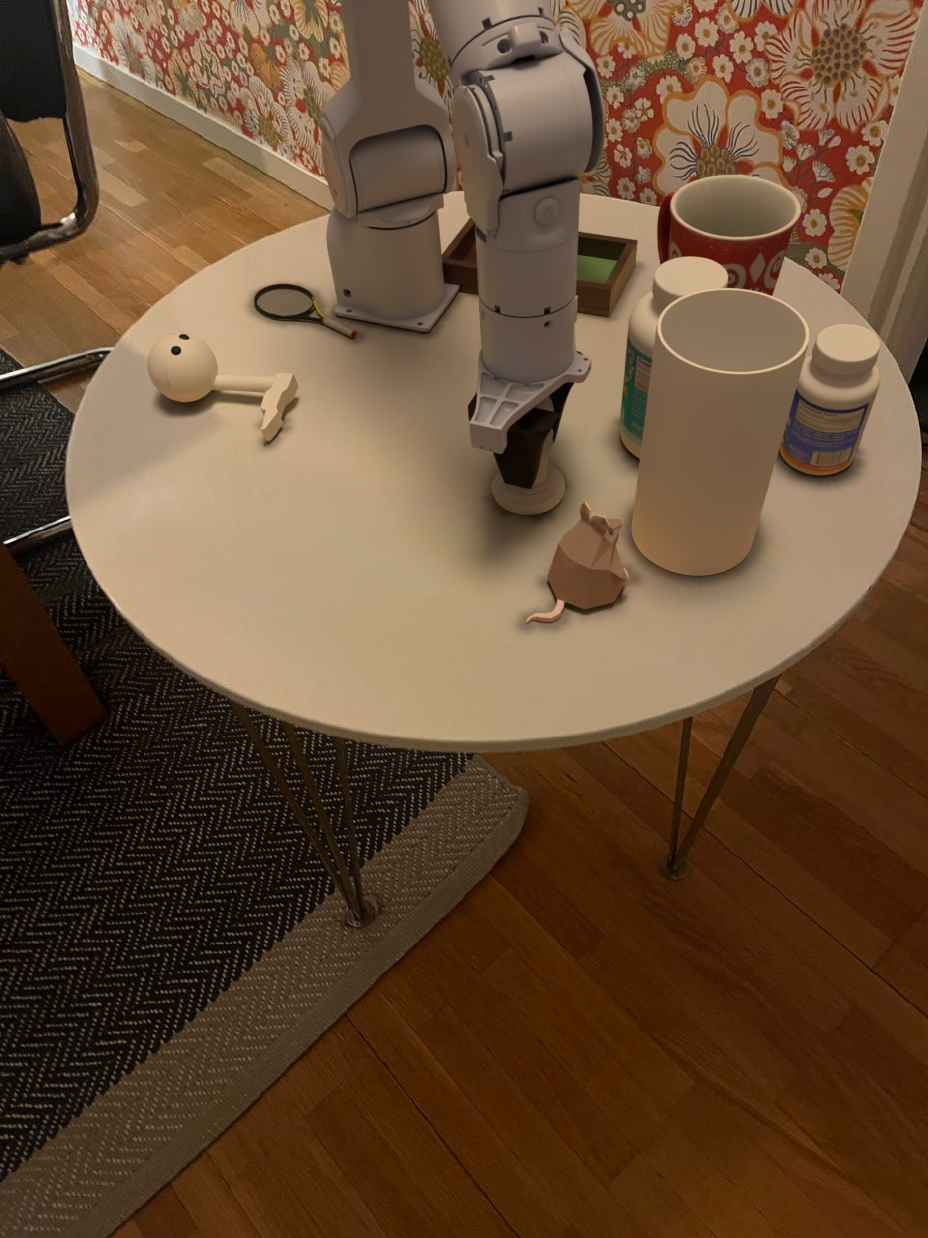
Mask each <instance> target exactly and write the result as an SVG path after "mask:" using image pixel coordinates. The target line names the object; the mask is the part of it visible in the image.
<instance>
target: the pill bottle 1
mask: <svg viewBox="0 0 928 1238" xmlns="http://www.w3.org/2000/svg"><path fill="white" fill-rule="evenodd" d="M727 285H728V274H727V271H726V270H725V269H724V267H723V266H721V265H720V264H718V263H717V262H715V261H712V260H710V259H706V258H702V257H679V258H675V259H671V260H669V261H666V262H664V263H663V264H661V265H660V264H659V266H658V267H657V268H656V270H655V272H654V274H653V279H652V289H651V291H650V292H648V293H646V294H645V295H644V296H643V297H641V298H640V299H639V300H638V301H637V303H636V304H635V305H634V307H633V308H632V310H631V312H630V315H629V318H628V325H627V335H626V336H627V337H626V347H625V358H624V370H623V371H624V373H623V382H622V395H621V406H620V415H619V435H620V439H621V441H622V444H623V446H625V448H626V449H627V450H628V451H629V452H630V453H631V454H632V455H634V456H635V457H636V458H638V459H640V455H641V446H642V438H643V430H644V422H645V414H646V406H647V398H648V390H649V382H650V374H651V366H652V358H653V350H654V342H655V334H656V327H657V323H658V320H659V317H660V315H661V313H662V312H663V311H664V309H665V308H666V307H667V306H668V305H670V304H671V303H672V302H674V301H675V300H677V299H679V298H681V297H683V296H685V295H688V294H690V293H694V292H697V291H702V290H708V289H716V288H727Z"/></svg>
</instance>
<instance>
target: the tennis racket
mask: <svg viewBox="0 0 928 1238" xmlns="http://www.w3.org/2000/svg"><path fill="white" fill-rule="evenodd" d="M278 289H280V291H282V292H284V293H286V294H284V293H282V292H279V293H277V292H275V291H278ZM274 290H275V291H274ZM295 291H299V292H297V293H296V292H295ZM287 292H289V293H288V294H287ZM269 294H271V296H269ZM274 295H276V296H281V297H279V298H278V297H276V296H274ZM300 296H301V297H300ZM307 297H309V298H307ZM267 298H268V299H267ZM298 298H299V299H298ZM263 299H264V300H263ZM269 299H275V300H277V301H273V302H272V301H270V300H269ZM278 300H279V301H278ZM299 300H301V301H303V303H302V302H300V304H299ZM282 301H283V304H282ZM262 303H264V304H266V308H264V307H263V306H262ZM292 303H293V304H295V305H296V307H292V306H290V305H289V304H292ZM307 303H308V304H307ZM253 304H254V306H255V308H256V310H258V312H259V313H261V314H263V315H264V316H266V317H269V318H272V319H276V320H295V321H309V322H310V321H311V322H315V323H320V324H323V325H325V326H327V327H329V328H331V329H333V330H335V331H338V332H340V333H342V334H343V335H346V336H347V337H349V338H352V339H355V338H357V335H358V332H357V330H354V329H352V328H350V327H347V326H345V325H343V324H341V323H340V322H337V321H335V320H333V319H331V318H329V317H326V316H325V315H324V314H323V312H321V310H320V309H319V307H318V304H317V301H316V298H315V296H314V294H313V293H312V291H310V290H308V289H306V288H305V287H303V286H301V285H296V284H293V283H275V284H270V285H268V286H264V287H263V288H261V289H260V290H258V291H257V292H256V293H255V295H254V297H253ZM269 304H271V305H272V304H273V306H269ZM310 304H311V305H310ZM260 305H261V306H260ZM308 305H309V307H308V308H307V309H305V310H303V309H302V310H301V308H300V309H299V307H303V308H306V307H307V306H308ZM274 308H276V309H274ZM279 309H283V311H280V312H279ZM289 309H290V310H289ZM314 309H315V311H316V312H317V314H318V315H319V316H320V317H314V316H309V314H311V313H312V311H314ZM286 310H288V312H286ZM293 311H295V313H294V314H291V312H293ZM298 311H300V312H299V313H297V312H298ZM301 311H302V312H301Z"/></svg>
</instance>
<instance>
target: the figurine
mask: <svg viewBox="0 0 928 1238" xmlns="http://www.w3.org/2000/svg"><path fill="white" fill-rule="evenodd" d="M146 365H147V372H148V376H149V379H150V380H151V383H152V385H153V386H154V387H155V388H156V390H157V391H158V392H160V394H162V395H163V396H164V397H166V398H168V399H170V400H172V401H175V402H180V403H192V402H196V401H199V400H201V399H203V398H204V397H206V396H207V395H208V394H209V393H210V392H211V391H212V390H213V391H229V392H230V391H231V392H246V393H247V392H248V393H260V394H263V393H264V394H263V397H262V400H261V402H260V407H259V409H260V411H261V413H262V416H263V418H262V419H263V420H262V423H261V428H260V432H261V434H262V436H263V438H264V440H265V442H271V441H272V440H273V438H275V436H276V434H277V433H278V432H279V430H280V429H281V428H282V426H283V425H284V421H283V420H282V417H283V413H284V411H285V408H286V406H288V405H289V404H291V402H293V401H294V398H295V396H296V393H297V390H298V389H299V384H298V381H297V378H296V376H295V373H293V372H292V373H291V372H290V373H289V372H277V373H276V376H261V375H260V376H258V375H238V374H237V375H235V374H218V372H219V371H218V369H219V367H218V361H217V359H216V355H215V354H214V352H213V350H212V348H211V347H210V346H209V345H208V343H206V341H204V340H203V339H200V338H198V337H195V336H194V335H191V334H188V333H185V332H176V333H170V334H166V335H164V336H162V337H161V338H159V339H158V340H156V342H155V343H154V344H153V346H152V347H151V349H150V351H149V353H148V357H147V363H146Z"/></svg>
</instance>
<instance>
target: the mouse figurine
mask: <svg viewBox="0 0 928 1238" xmlns="http://www.w3.org/2000/svg"><path fill="white" fill-rule="evenodd" d="M579 514H580V519H579V520H578V521H577V522H576V523H575V524H574V525H573V526H572V527H571V528H570V529H569V530H567V531H566V532H565V533H564V534H563V535H562V536H561V539H559V541H558V542H557V545H556V549H555V552H554V555H553V558H552V561H551V564H550V567H549V571H548V573H547V580H548V582H549V584H550V586H551V589H552V591H553V593H554V596H555V598H556V599H557V600H556V604H555V607H554V609H553V610H551V611H549V612H534V613H533V614H531V615H530V616H528V617H527V619H526V621H525V624H528V623H529V622H531V621H538V622H544V623H553V622H555V621H557V620H559V619H560V618H561V616H562V615H563V612H564V609H565V605H566V604H569V605H572V606H575V607H577V608H579V609H582V610H587V609H592V608H596V607H600V606H605V605H607V604H612V603H615V601H616V599H617V598H618V596H619V594H620V592H621V591H622V590H623V588H624V586H625V584H626V583H627V582H629V579H630V575H629V573H628V571H627V569H626V567H624V566H623V564H622V562H621V559H620V556H619V552H618V549H617V543H618V540H619V536H620V532H621V530H622V528H623V525H624V522H623V519H622V518H607V517H606V516H604V515H601V514H596V515H593V516H592V508H591V507H590V505H589V504H588V502H587V501H584V502H583V503H582V504H581V505H580V509H579Z"/></svg>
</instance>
